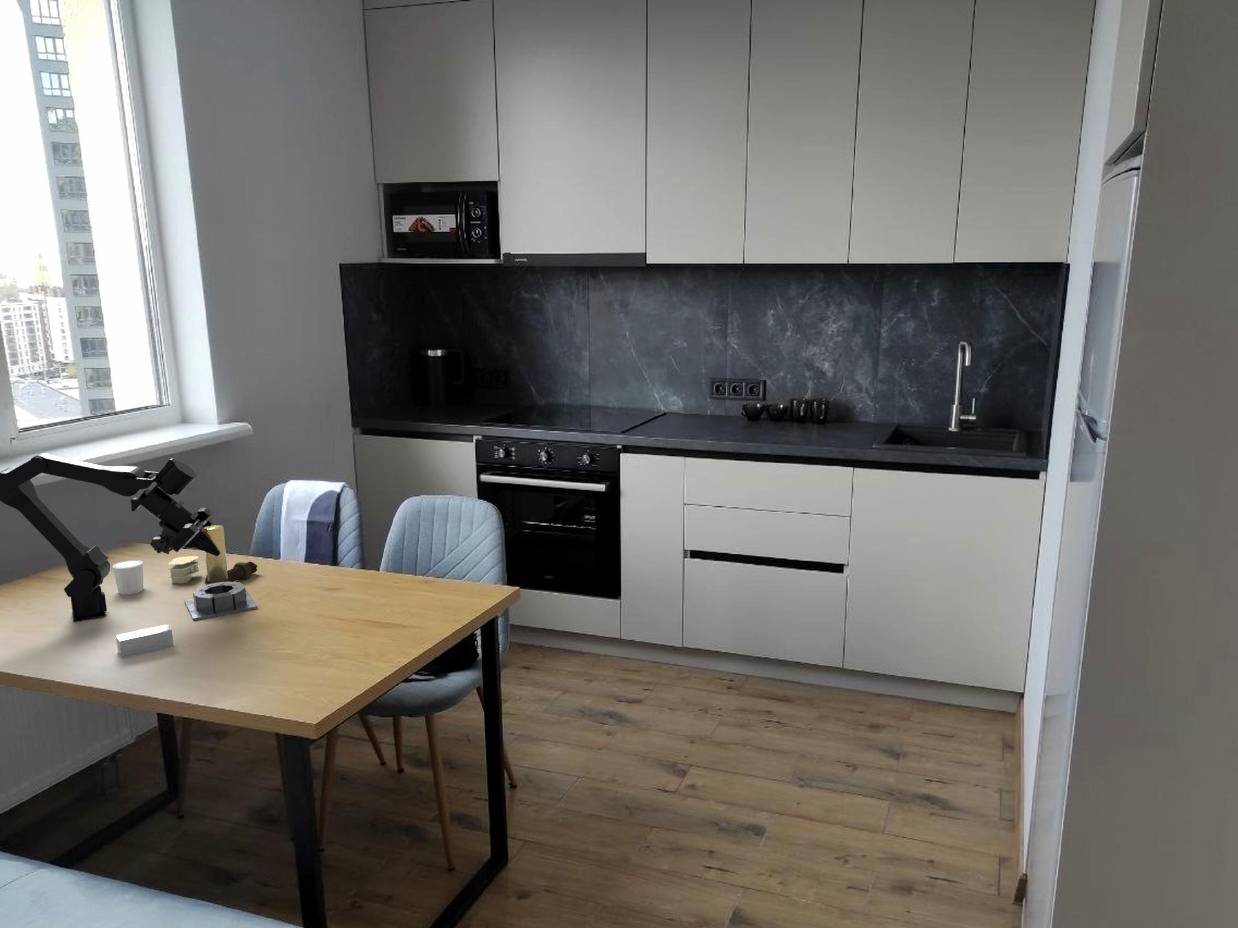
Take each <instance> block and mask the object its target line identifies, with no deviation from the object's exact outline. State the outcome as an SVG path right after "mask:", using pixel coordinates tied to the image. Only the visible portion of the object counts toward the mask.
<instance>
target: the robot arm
mask: <svg viewBox="0 0 1238 928" xmlns="http://www.w3.org/2000/svg"><path fill="white" fill-rule="evenodd" d="M41 474H45V475H50V476H54V477H60V478H65V479H69V480H74V481H80V482H85V483H89V484H94V485H97V486H100V487H102V488H104V489H105V490H107V491H109V492H112V493H114V494H117V495H119V496H123V497H132V496H135V495H137V494H138V493H140V492H141V491H142V490H143V492H141V493H140V494H139V496H138V497H132V498H131V499H130V501H129V502H130V505H131V507H130V508H131V512H135V511H136V510H138V509H139V508H140V507H142V508H143V509H144V510H146V511H147V512H148V513H149V514H150V515H152V516H153V517H155V518H156V519H157V520H158V521H159V522H158V526H159V527H160V528H161V529H162V531H161V532H160V534H159V536H155V537H153V538H152V539H151V542H150V545H149V546H150V547H152V548H153V551H155V552H156V553H157V554H161V553H164V554H167V555H170V552H172V551H174V552H175V553H178V552H179V551H180V550H182V549H183V550H186V549H192V548H193V549H194V548H195V549H197V550H201V551H202V552H204V553H205V552H207V553H210V554H212V555H215V556H219V554H220V551H219V549H218V548H217V546H216V545H215V543H214V542H213V541H212V539H211V538H210V536H209V535H208V533H207V532H206V531H205V529H204V528H205V527H207V526H214V525H215V524H214V522H213V519H212V517H210V516H212V515H213V513H214V512H213V511H212V510H211V509H209V508H208V507H200V508H199V510H198V511H194V512H192V511H190V510H189V509H188V508H187V507H186V506H184V504H185V502H184V501H183V500H179V501H178V500H177V499H175V498H174V497H173V496H174V495H179V496H180V494H182V493H183V492H184V490H185V489H186V488H188V486H190V484H191V483H192V482H193V481H194V480H195V479H196V478H197V473H196V471H194V469H193V468H192V467H191V466H189V464H185V463H183V462H181V461H178V460H176V459H175V458H174V457H171V458H170V459H169V460H168V461H166V463H165V464H164V467H162V468H161V470H160V471H159V472H158V471H157V472H156V471H147V470H144V469H143V468H141V467H139V466H133V465H131V466H130V465H115V466H113V465H112V466H109V465H108V466H105V465H99V464H96V463H91V462H87V461H80V460H78V459H73V458H67V457H63V456H62V457H61V456H57V455H52V454H50V453H48V452H42V453H41V452H40V453H39V454H36V455H34V456H32V458H30V459H29V460H28V461H26V462H24V463H22V464H20V465H18V466H17V467H12V466H11V467H7V468H5V469H3V470H0V502H1V503H2V504H4V505H6V506H8V507H10V508H12V509H14V510H16V511H18V512H19V513H20V514H21V515H22V516H23V517H24V518H25V519H26V520H27V521H28V522H29V523H30V524H31V526H32V527H33V528H34V529H36V531H37V532H39V534H40V535H41V536H42V537H43V538H44V539H45V540H46V541H47V542H48V543H49V544H50V545H51V547H52V548H54V549H55V551H56V552H57V553H58V554H59V555H60V556H61V557H62V558H63V559H64V562H65V565H66V568H67V571H68V572H69V574H70V576H71V577H72V579H71V581H70V582H69V583H68V584H67V585H66V586H65V587H64V588H63V591H64V592H65V594H66V596H67V597H68V598H70V604H71V609H72V612H71V615H72V622H74V623H76V622H77V623H78V622H83V621H87V620H88V621H89V620H92V619H98V618H104V617H106V612H107V611H108V608H107V599H106V594H105V591H102V586H101V585H103V582H104V579H105V578H106V577H107V576H108V575H109V573H110V571H111V563H110V562H109V561H108V559H109V556H107V555H105V554H104V553H103V552H102V551H101V549H100V547H98V545H93V547H92V548H91V547H88V546H86V545H84V544H83V543H81V542H80V541H79V540H78V539H77V538H76V537H75V535H74V534H73V533H72V532H71V531H70V530H69V529H68V528H67V527H66V526H65V525H64V524H63V522H61V520H60V519H59V518H58V517H57V516H56V515H55V514H54V513H53V512H52V511H51V510H50V509H49V508H48V507H47V506H46V505H45V504H44V502H43V501H42V500H41V499H40V498H39V497H38V495H37V491H36V488H35V485H34V483H33V482H32V479H33V478H35V477H37V476H39V475H41ZM155 483H156V485H154V487H153V488H152V489H149V488H150V487H152V486H153V484H155ZM207 519H208V520H207ZM206 520H207V521H206Z"/></svg>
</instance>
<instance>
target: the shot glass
mask: <svg viewBox="0 0 1238 928" xmlns="http://www.w3.org/2000/svg"><path fill="white" fill-rule="evenodd" d="M112 571H113V575H114V578H115V579H114V580H115V584H116V587H117V592H118V593H117V594H120V595H132V594H137V593H140V592H142V591H144V561H143V560H139V559H129V560H122V561H119V562H117V563H114V564H113V565H112Z"/></svg>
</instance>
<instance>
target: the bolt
mask: <svg viewBox="0 0 1238 928" xmlns="http://www.w3.org/2000/svg"><path fill="white" fill-rule="evenodd" d="M256 572H258V564H256V563H254V562H253V561H248V562H243V561H241V562H236V563H235V564H234V566H233V567H232V568H230V569H227V574H228V578H227V579H226V580H223V581H219V582H238V581H247V580H248V579H250V577H251V575H252V574H255V573H256ZM219 582H210V581H208V578H207V576H206V577H205V580H204V584H205V585H207V584H213V583H219Z"/></svg>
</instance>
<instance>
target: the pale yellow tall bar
mask: <svg viewBox="0 0 1238 928" xmlns="http://www.w3.org/2000/svg"><path fill="white" fill-rule="evenodd" d="M204 529H205V531H206V532H207V533H208V535H209V536H210V538H211V539H212V541H213V542H214V543H215V545H216V546H217V548H218V549H219V551H220V554H219V556H215V555H212V554H210V553H207V552H205V551H204V554H205V565H206V567H205V568H206V577H207V578H208V581H210V582H219V581H223V580H226V579H227V578H228V574H227V571H228V563H227V555H226V554H227V552H226V544H225V543H226V542H225V529H224V525H221V524H220V525H215V524H214V526H207V527H205V528H204Z"/></svg>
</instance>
